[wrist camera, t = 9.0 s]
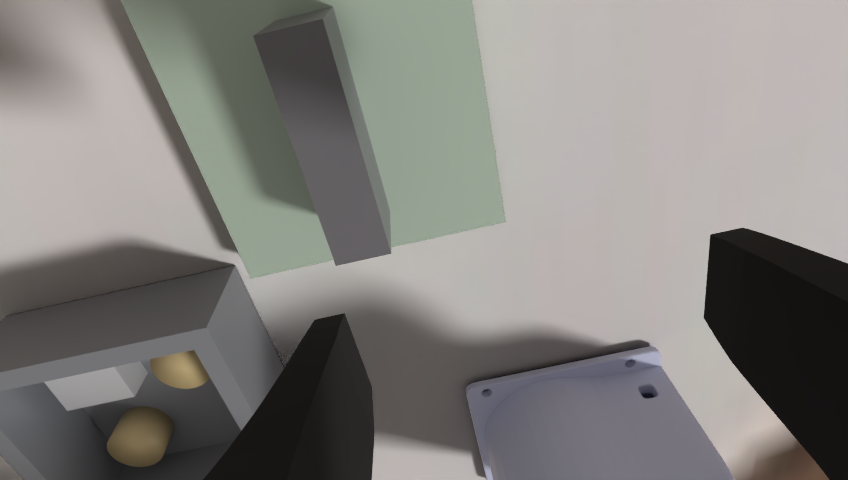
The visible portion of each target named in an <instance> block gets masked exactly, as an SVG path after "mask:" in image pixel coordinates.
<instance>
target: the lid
mask: <svg viewBox="0 0 848 480" xmlns="http://www.w3.org/2000/svg"><path fill="white" fill-rule="evenodd" d="M120 1H121V3H122V5H123V7H124V9H125V11H126V14H127V16H128V18H129V20H130V22H131V24H132V26H133V29H134V31H135V33H136V35H137V37H138V39H139V41H140V43H141V46H142V48H143V50H144V52H145V54H146V56H147V58H148V61H149V63H150V65H151V67H152V69H153V71H154V73H155V75H156V78H157V80H158V82H159V84H160V86H161V88H162V90H163V93H164V95H165V97H166V99H167V101H168V103H169V105H170V107H171V110H172V112H173V114H174V116H175V118H176V120H177V122H178V125H179V127H180V129H181V131H182V133H183V135H184V137H185V140H186V142H187V144H188V146H189V148H190V150H191V152H192V154H193V157H194V159H195V161H196V163H197V165H198V167H199V169H200V172H201V174H202V176H203V178H204V180H205V182H206V184H207V186H208V189H209V191H210V193H211V195H212V197H213V199H214V201H215V204H216V206H217V208H218V210H219V212H220V214H221V216H222V219H223V221H224V223H225V225H226V227H227V229H228V231H229V233H230V236H231V238H232V240H233V242H234V244H235V246H236V248H237V251H238V253H239V255H240V257H241V259H242V261H243V263H244V265H245V268H246V270H247V272H248V274H249V276H250V278H255V277H260V276H264V275H269V274H273V273H278V272H282V271H287V270H291V269H296V268H300V267H305V266H309V265H314V264H318V263H323V262H327V261H332V260H334V262H335V265H336V266H337V265H341V264H346V263H351V262H355V261H360V260H364V259H369V258H373V257H378V256H382V255H387V254H391V247H395V246H400V245H404V244H409V243H413V242H418V241H422V240H427V239H431V238H436V237H440V236H445V235H449V234H454V233H458V232H463V231H467V230H472V229H476V228H481V227H485V226H490V225H494V224H499V223H503V222H506V220H505V213H504V207H503V200H502V194H501V187H500V181H499V174H498V167H497V161H496V154H495V148H494V141H493V135H492V128H491V122H490V115H489V109H488V102H487V95H486V89H485V82H484V76H483V69H482V63H481V56H480V50H479V43H478V37H477V30H476V23H475V17H474V10H473V4H472V0H120Z"/></svg>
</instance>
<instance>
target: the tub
mask: <svg viewBox="0 0 848 480" xmlns="http://www.w3.org/2000/svg"><path fill="white" fill-rule="evenodd" d="M283 369H284V367H283V365H282V363H281V361H280V359H279V356H278V354H277V352H276V350H275V348H274V346H273V344H272V342H271V340H270V338H269V335H268V333H267V331H266V329H265V327H264V325H263V323H262V321H261V319H260V316H259V314H258V312H257V310H256V308H255V306H254V304H253V302H252V300H251V298H250V295H249V293H248V291H247V289H246V287H245V285H244V283H243V281H242V279H241V276H240V274H239V272H238V270H237V268H236V266H230V267H226V268H221V269H217V270H212V271H208V272H203V273H199V274H194V275H190V276H185V277H181V278H176V279H172V280H167V281H163V282H158V283H153V284H149V285H144V286H140V287H135V288H131V289H126V290H122V291H117V292H113V293H108V294H104V295H99V296H95V297H90V298H86V299H81V300H77V301H72V302H68V303H63V304H59V305H54V306H50V307H45V308H41V309H36V310H32V311H27V312H23V313H18V314H14V315H9V316H6V317H5V318H4V319H3V320H2V321H1V322H0V455H1V456H2V457H3V458H4V460H5V461H6V462H7V463H8V464H9V465H10V466H11V467H12V468H13V469H14V470H15V471H16V472H17V473H18V474H19V475H20V476H21V477H22V478H23V479H24V480H203V479H204V478H205V477H206V475H207V474H208V473H209V472H210V471H211V470H212V468H213V467H214V466H215V465H216V463H217V462H218V461H219V460H220V458H221V457H222V456H223V455H224V453H225V452H226V451H227V450H228V448H229V447H230V446H231V444H232V443H233V442H234V440H235V439H236V438H237V436H238V435H239V433H240V432H241V431H242V429H243V428H244V427H245V425H246V424H247V422H248V421H249V420H250V418H251V417H252V416H253V414H254V413H255V411H256V410H257V409H258V407H259V406H260V404H261V403H262V401H263V400H264V398H265V397H266V395H267V394H268V392H269V391H270V389H271V388H272V386H273V385H274V383H275V381H276V380H277V378H278V377H279V375H280V374H281V372H282V371H283Z"/></svg>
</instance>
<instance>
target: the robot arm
mask: <svg viewBox="0 0 848 480" xmlns="http://www.w3.org/2000/svg"><path fill="white" fill-rule="evenodd" d="M704 319H705V320H706V322H707V324H708V325H709V327H710V329H711V330H712V332H713V333H714V335H715V337H716V338H717V340H718V342H719V343H720V345H721V346H722V348H723V349H724V351H725V352H726V354H727V355H728V357H729V358H730V360H731V361H732V363H733V364H734V365H735V366H736V368H737V369H738V370H739V371H740V373H741V374H742V375H743V376H744V377H745V379H746V380H747V381H748V382H749V383H750V385H751V386H752V387H753V388H754V389H755V391H756V392H757V393H758V394H759V395H760V397H761V398H762V399H763V400H764V401H765V402H766V404H767V405H768V406H769V407H770V408H771V410H772V411H773V412H774V413H775V414H776V415H777V417H778V418H779V419H780V420H781V421H782V423H783V424H784V425H785V426H786V427H787V428H788V430H789V431H790V432H791V433H792V434H793V436H794V437H795V438H796V439H797V440H798V441H799V443H800V444H801V445H802V446H803V447H804V449H805V450H806V451H807V452H808V453H809V454H810V456H811V457H812V458H813V459H814V460H815V461H816V463H817V464H818V465H819V467H820V468H821V469H822V470H823V472H824V473H825V474H826V475H827V477H828V478H829V479H830V480H848V263H845V262H842V261H839V260H836V259H834V258H831V257H828V256H825V255H822V254H820V253H817V252H814V251H811V250H808V249H806V248H803V247H800V246H797V245H794V244H792V243H789V242H786V241H783V240H780V239H777V238H774V237H772V236H769V235H765V234H762V233H759V232H756V231H753V230H749V229H745V228H739V229H735V230H730V231H725V232H721V233H716V234H711V235H710V247H709V260H708V272H707V285H706V297H705V310H704ZM630 359H631V360H630ZM628 360H630V361H628ZM627 361H628V362H627ZM485 389H489V390H487V391H483V390H485ZM466 397H467V401H468V405H469V409H470V413H471V418H472V422H473V426H474V430H475V434H476V438H477V442H478V447H479V451H480V455H481V459H482V463H483V467H484V472H485V476H486V480H735V479H734V477H733V475H732V474H731V472H730V470H729V468H728V467H727V465H726V464H725V462H724V460H723V459H722V457H721V456H720V454H719V453H718V451H717V450H716V448H715V447H714V445H713V444H712V442H711V441H710V439H709V438H708V436H707V435H706V433H705V432H704V430H703V429H702V427H701V426H700V424H699V423H698V421H697V420H696V418H695V417H694V415H693V414H692V412H691V411H690V409H689V408H688V406H687V405H686V403H685V402H684V400H683V399H682V397H681V396H680V394H679V393H678V391H677V390H676V388H675V387H674V385H673V384H672V382H671V381H670V379H669V378H668V376H667V375H666V373H665V372H664V370H663V369H662V367H661V355H660V353H659V351H658V350H657V349H656V348H655V347H652V346H650V347H644V348H639V349H634V350H629V351H624V352H619V353H615V354H610V355H605V356H600V357H595V358H590V359H586V360H581V361H576V362H571V363H566V364H561V365H557V366H552V367H547V368H542V369H537V370H532V371H528V372H523V373H518V374H513V375H508V376H503V377H499V378H494V379H489V380H484V381H479V382H474V383H471V384H470V385H468V386H467V388H466ZM373 448H374V419H373V401H372V387H371V384H370V381H369V378H368V376H367V373H366V370H365V368H364V365H363V362H362V359H361V357H360V354H359V351H358V349H357V346H356V343H355V340H354V338H353V335H352V332H351V329H350V327H349V324H348V321H347V319H346V316H345V313H344V314H340V315H335V316H330V317H326V318H321V319H317V320H314V322H313V323H312V325H311V326H310V328H309V330H308V331H307V333H306V334H305V336H304V337H303V339H302V340H301V342H300V344H299V345H298V347H297V348H296V350H295V352H294V353H293V355H292V357H291V358H290V360H289V361H288V363H287V364H286V366H285V368H284V369H283V371H282V372H281V374H280V375H279V377H278V378H277V380H276V381H275V383H274V385H273V386H272V388H271V389H270V391H269V392H268V394H267V395H266V397H265V398H264V400H263V401H262V403H261V404H260V406H259V407H258V409H257V410H256V411H255V413H254V414H253V416H252V417H251V418H250V420H249V421H248V422H247V424H246V425H245V427H244V428H243V429H242V431H241V432H240V433H239V435H238V436H237V438H236V439H235V440H234V442H233V443H232V444H231V446H230V447H229V448H228V450H227V451H226V452H225V453H224V455H223V456H222V457H221V458H220V460H219V461H218V462H217V463H216V465H215V466H214V467H213V468H212V470H211V471H210V472H209V473H208V474H207V475H206V477H205V478H204V479H203V480H371V479H372V464H373Z"/></svg>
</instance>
